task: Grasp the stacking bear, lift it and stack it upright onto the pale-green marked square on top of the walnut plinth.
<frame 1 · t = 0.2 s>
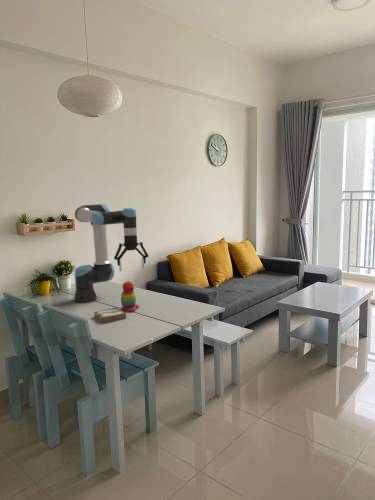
hand: (132, 269, 229), 27 cm above the table, fingers open, 13 cm apart
stacking bear: (129, 309, 242), on the table
plinth: (110, 317, 228), on the table
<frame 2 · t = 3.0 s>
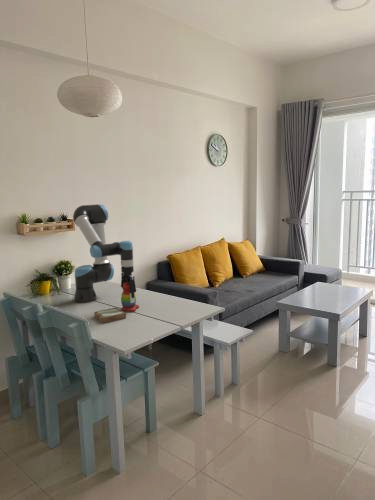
hand: (129, 300, 242), 6 cm above the table, fingers closed on stacking bear, 9 cm apart
stacking bear: (129, 309, 242), on the table, touching gripper
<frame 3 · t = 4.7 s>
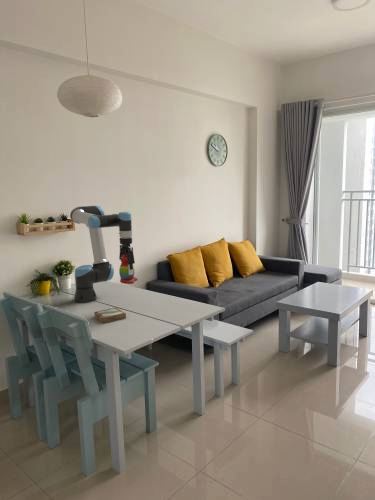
hand: (127, 272, 239), 23 cm above the table, fingers closed on stacking bear, 9 cm apart
stacking bear: (127, 282, 240), point 18 cm above the table, touching gripper
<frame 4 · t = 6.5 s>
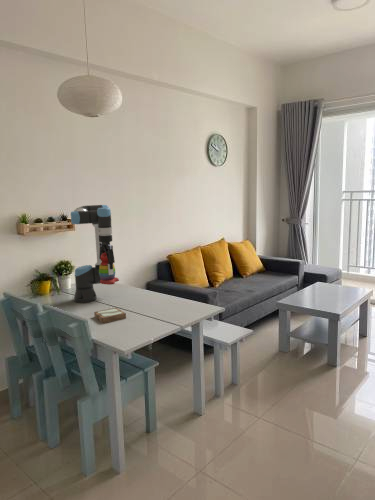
hand: (107, 272, 223), 27 cm above the table, fingers closed on stacking bear, 9 cm apart
stacking bear: (108, 282, 224), point 21 cm above the table, touching gripper
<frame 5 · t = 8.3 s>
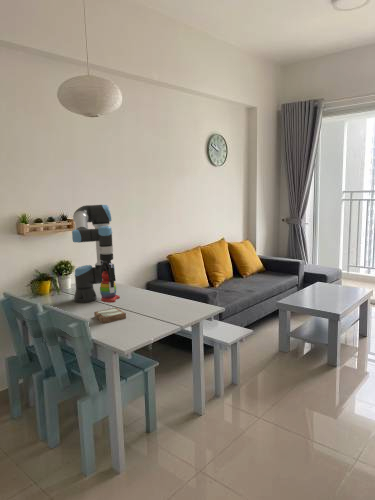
hand: (108, 290, 225), 16 cm above the table, fingers closed on stacking bear, 9 cm apart
stacking bear: (109, 300, 226), point 11 cm above the table, touching gripper
when the fingers open (10 cm above the table, at t = 10.0 s): stacking bear drops 2 cm, resting on plinth.
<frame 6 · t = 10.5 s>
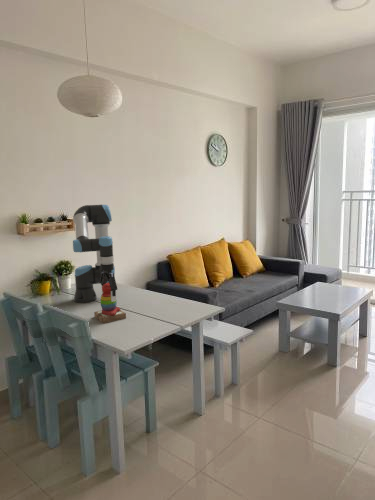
hand: (109, 298, 226), 12 cm above the table, fingers open, 13 cm apart
stacking bear: (109, 312, 227), point 3 cm above the table, touching plinth
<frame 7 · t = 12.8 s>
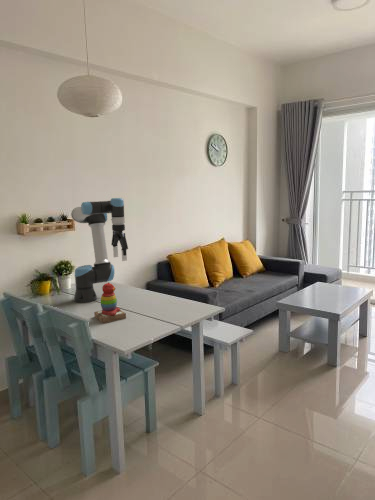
hand: (120, 258, 233), 33 cm above the table, fingers open, 13 cm apart
nothing on the table moved.
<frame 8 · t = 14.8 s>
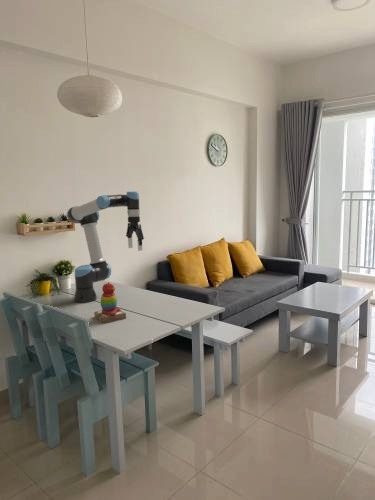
hand: (135, 249, 246), 37 cm above the table, fingers open, 13 cm apart
nothing on the table moved.
at the end: stacking bear inside the target area on the plinth (0.1 cm from its centre), point 2.9 cm above the plinth's base; stacking bear tilted 0°; the gripper is holding nothing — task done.
